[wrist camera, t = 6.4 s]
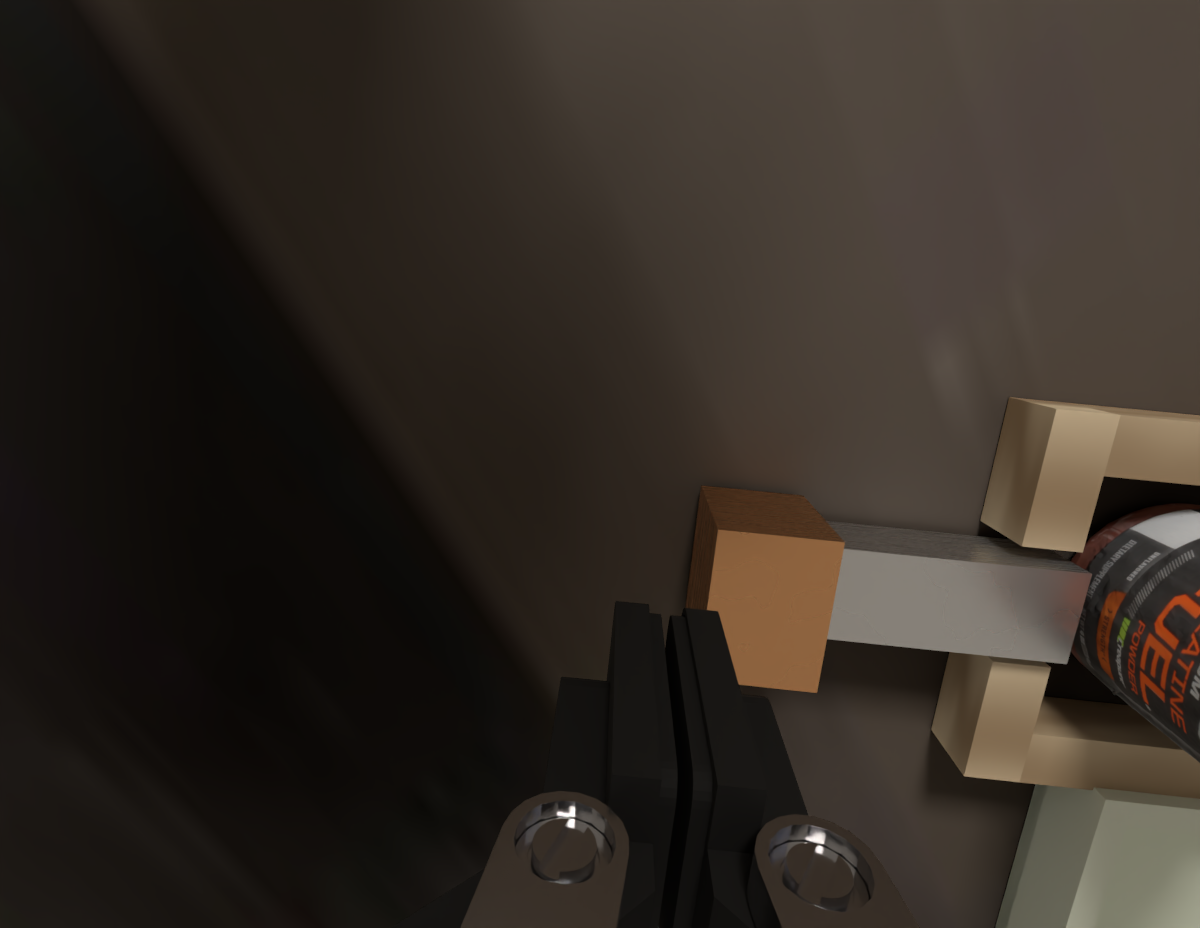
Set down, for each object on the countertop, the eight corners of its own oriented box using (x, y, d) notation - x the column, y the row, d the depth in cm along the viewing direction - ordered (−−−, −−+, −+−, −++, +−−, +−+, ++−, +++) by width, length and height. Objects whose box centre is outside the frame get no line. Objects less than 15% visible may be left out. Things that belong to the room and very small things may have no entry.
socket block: (1009, 397, 19) (1056, 409, 17) (1397, 434, 19) (1495, 450, 17) (931, 729, 22) (963, 776, 20) (1272, 766, 21) (1343, 817, 19)
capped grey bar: (701, 485, 20) (718, 529, 16) (1043, 519, 20) (1145, 572, 16) (684, 609, 21) (697, 680, 17) (1011, 643, 21) (1100, 722, 17)
